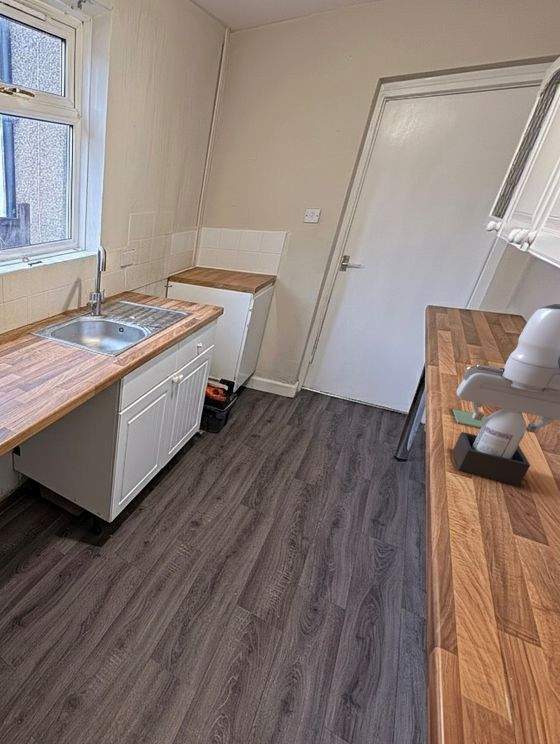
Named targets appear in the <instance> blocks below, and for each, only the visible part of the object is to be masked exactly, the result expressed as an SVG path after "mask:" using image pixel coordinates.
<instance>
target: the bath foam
mask: <svg viewBox="0 0 560 744" xmlns="http://www.w3.org/2000/svg"><path fill="white" fill-rule="evenodd" d="M526 423H527V422H526V420H525V418H524V415H523V413H522V412H518V411H513V410H508V409H503V408H500V409H499V410H496V411H495V412H493V413H491V414H490V415H489V416H488V418H487V419H486V420H485V421H484V423H483V425H482V427H481V428H479V432H478V433H477V434H476V435H477V437H476V439H475V441H474V443H473V445H472V450H475V451H479V452H483V453H487V454H491V455H495V456H499V457H503V458H508V459H511V458H512V456H513V454H514V453H515V451H516V449H517V447H518V445H519V446H520V443H521V442H522V440H523V437H524V436H525V433H526V432H527V430H526V427H527V424H526Z"/></svg>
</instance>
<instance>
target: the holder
mask: <svg viewBox="0 0 560 744" xmlns="http://www.w3.org/2000/svg"><path fill="white" fill-rule="evenodd" d="M477 435H478V434H473V433H468V432H464V431H461V432H460V434H459V437H457V440H456V442H455V445H454V447H453V449H452V454H453V456H454V459H455V463H456V466H457V469H458V471H460V472H464V473H468V474H472V475H476V476H479V477H482V478H487V479H490V480H494V481H497V482H502V483H505V484H509V485H512V486H515V487H519V486H520V484H521V483H522V481H523V479H524V478H525V476H526V474H527V472H528V471H529V469H530V468H531V464H530V462H529V460H528V459H527V457H526V455H525V454H524V452H523V450H522V449H521V447H520V444H519V445H518V447H517V449H516V451H515V453H514V454H513V456H512V458H511V459H508V458H503V457H499V456H495V455H491V454H487V453H483V452H479V451H475V450H472V445H473V443H474V441H475V439H476V437H477Z"/></svg>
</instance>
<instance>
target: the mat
mask: <svg viewBox="0 0 560 744" xmlns="http://www.w3.org/2000/svg"><path fill="white" fill-rule="evenodd" d="M452 412H453V415H454V418H455V420H456V423H457V424H461V425H465V426H470V427H475V428H478V429H481V427H482V425H483V423H484V421H485V420H486V419H487V418H488V417H489V416H488V415H484V417H483V418H482V420H481V421H480V420H475V419H473V418H472V416H473V414H474V412H469V411H465V410H461V409H460V410H459V409H456V408H455V409H454V408H453V409H452Z"/></svg>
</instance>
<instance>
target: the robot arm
mask: <svg viewBox="0 0 560 744" xmlns="http://www.w3.org/2000/svg"><path fill="white" fill-rule="evenodd" d="M456 396H457V397H458V398H459V399H460V400H462V401H465V402H471V404H472V405H471V406H472V408H473V411H474V412H473V413H474V414H473V416H472V418H473V419H475V420H480V421H481V420H482V418H483V417H484V416H485V414H484V412H483V411H480V410H479V408H483V405H484V406H489V407H494V408H500V409H508V410H513V411H518V412H522V414H528V415H532V416H537V417H539V418H540V419H539V420H537V421H536V422H534V423H533V422H528V424H527V425H526V432H528V433H533V434H538V432H539V430H540V429H541V428H544V427H546V426H548V425H550V424H552V422H553V421H554V420H556V421H560V303H554V304H548V305H545V306H543V307H540V308H538V309H537V310H536V311H534V313H533V314H532V315H531V317H530V318H529V319H528V321H527V322H526V324H525V326H524V328H523V329H522V331H521V333H520V335H519V337H518V342H517V346H516V348H514V350H513V351H512V352H511V353H510V354H509V356H508V358H507V360H506V362H505V364H504V366H503V367H497V366H489V365H485V364H482V363H481V364H476V365H471V366H468V367H467V368H466V369H465V371H464V374H463V379H462V381H461V382H460V384H459V385H458V388H457V389H456Z"/></svg>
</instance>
